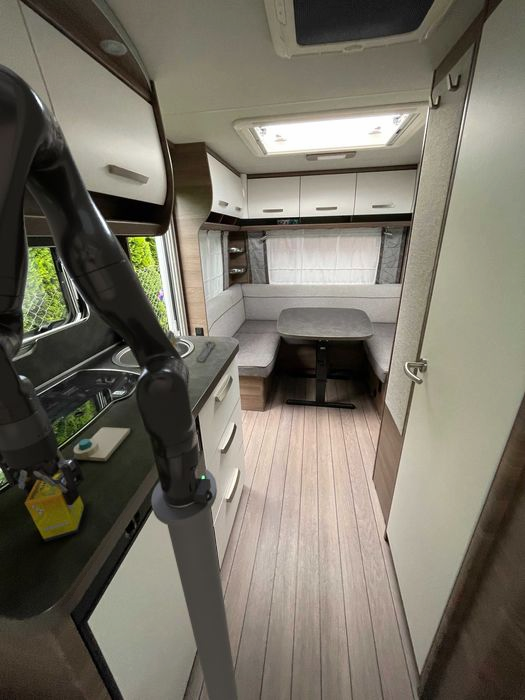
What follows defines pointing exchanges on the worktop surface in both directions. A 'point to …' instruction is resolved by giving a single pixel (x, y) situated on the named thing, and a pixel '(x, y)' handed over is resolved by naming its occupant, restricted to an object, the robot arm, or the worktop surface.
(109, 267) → the robot arm
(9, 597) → the worktop surface
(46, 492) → the supplement box
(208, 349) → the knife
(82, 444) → the button
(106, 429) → the scale
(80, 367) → the worktop surface
